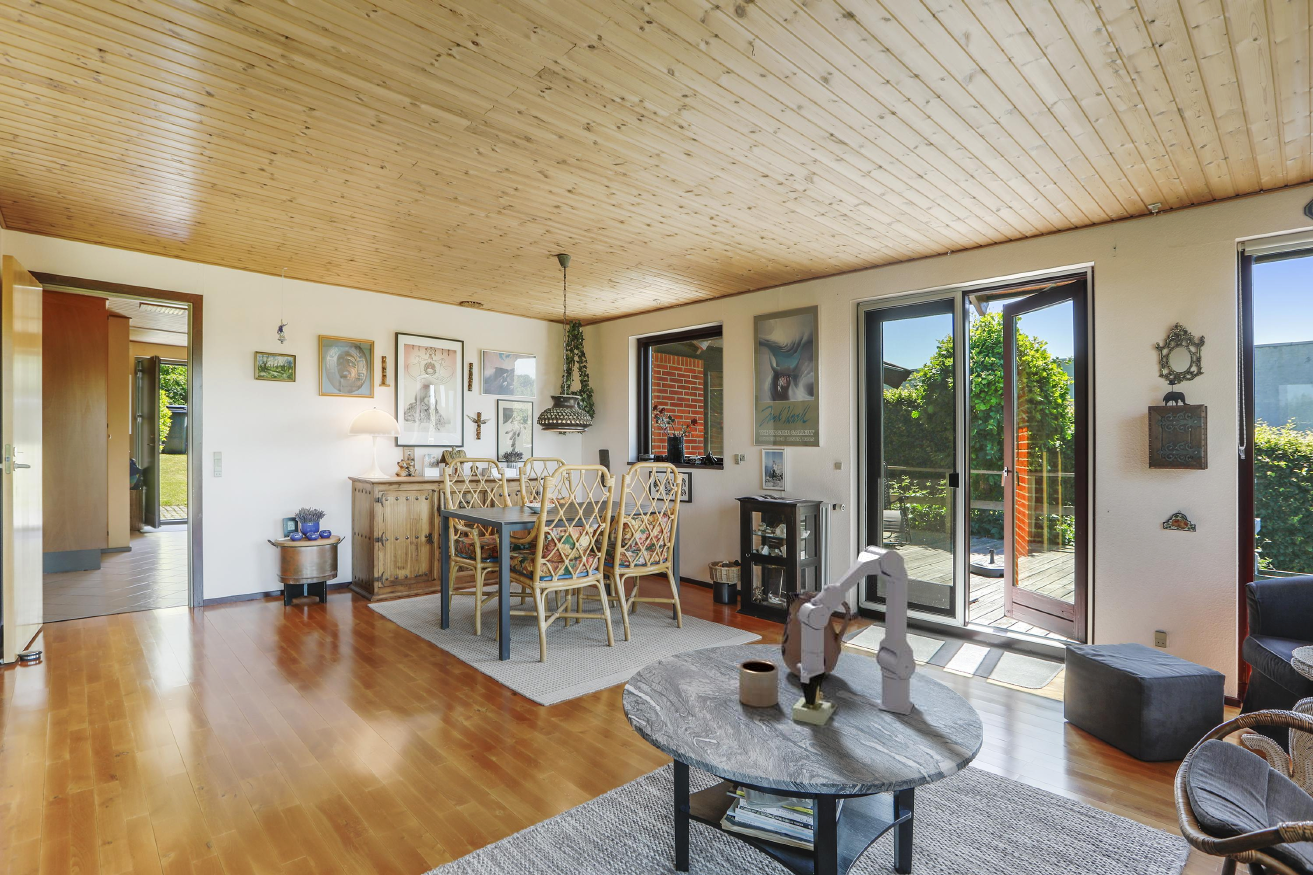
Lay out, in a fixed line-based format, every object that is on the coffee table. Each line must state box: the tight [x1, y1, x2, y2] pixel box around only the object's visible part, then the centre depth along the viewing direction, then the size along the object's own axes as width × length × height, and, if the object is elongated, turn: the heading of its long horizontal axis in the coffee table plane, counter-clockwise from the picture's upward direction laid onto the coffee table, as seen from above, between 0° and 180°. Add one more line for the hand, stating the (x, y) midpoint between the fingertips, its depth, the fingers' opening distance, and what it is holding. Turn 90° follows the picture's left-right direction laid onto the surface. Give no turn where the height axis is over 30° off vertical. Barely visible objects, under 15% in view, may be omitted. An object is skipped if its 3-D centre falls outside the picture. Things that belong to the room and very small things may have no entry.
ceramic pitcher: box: [780, 590, 852, 677], centre depth 200 cm, size 18×21×25 cm
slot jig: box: [792, 691, 838, 727], centre depth 170 cm, size 14×8×3 cm, turn 151°
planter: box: [738, 659, 779, 709], centre depth 179 cm, size 11×11×10 cm
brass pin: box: [807, 686, 819, 711], centre depth 168 cm, size 3×3×7 cm
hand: (812, 701), depth 168 cm, fingers closed on brass pin, 3 cm apart
